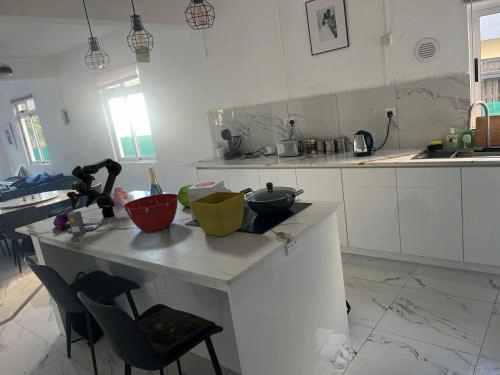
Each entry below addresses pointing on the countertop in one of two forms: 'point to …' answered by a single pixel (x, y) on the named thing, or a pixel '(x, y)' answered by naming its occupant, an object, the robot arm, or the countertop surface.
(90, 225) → the rail plate
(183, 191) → the lettuce
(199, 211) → the flower pot
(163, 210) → the mixing bowl
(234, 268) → the countertop surface
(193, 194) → the pizza boxes
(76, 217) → the block
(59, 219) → the mounting bracket
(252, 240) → the countertop surface
